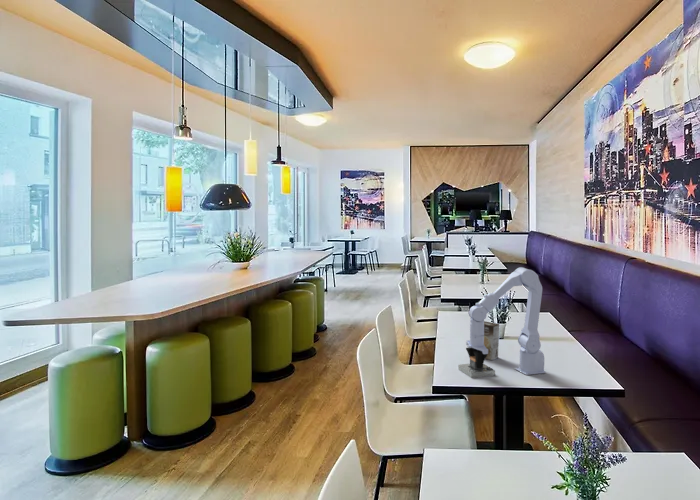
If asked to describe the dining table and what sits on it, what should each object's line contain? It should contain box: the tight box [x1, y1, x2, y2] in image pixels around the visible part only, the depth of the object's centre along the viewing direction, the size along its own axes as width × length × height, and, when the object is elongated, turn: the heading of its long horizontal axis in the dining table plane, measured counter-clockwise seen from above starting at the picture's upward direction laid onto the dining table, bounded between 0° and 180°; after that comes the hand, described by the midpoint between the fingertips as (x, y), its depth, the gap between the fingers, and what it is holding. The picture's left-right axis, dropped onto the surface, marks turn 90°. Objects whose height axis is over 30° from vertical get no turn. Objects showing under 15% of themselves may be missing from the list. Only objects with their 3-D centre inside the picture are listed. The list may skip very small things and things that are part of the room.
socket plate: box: [458, 363, 496, 379], centre depth 203 cm, size 11×11×2 cm
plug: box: [469, 356, 483, 370], centre depth 203 cm, size 4×4×6 cm
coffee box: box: [484, 320, 500, 361], centre depth 223 cm, size 9×6×16 cm
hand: (476, 366), depth 203 cm, fingers open, 4 cm apart
